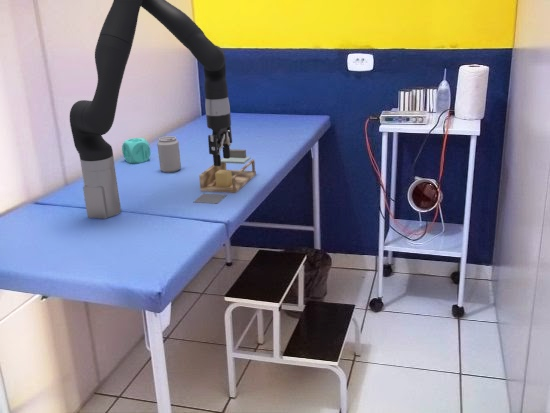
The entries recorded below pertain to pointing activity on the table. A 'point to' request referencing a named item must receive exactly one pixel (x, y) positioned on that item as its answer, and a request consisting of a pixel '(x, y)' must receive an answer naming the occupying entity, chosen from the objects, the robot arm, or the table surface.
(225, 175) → the block
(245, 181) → the wooden rack
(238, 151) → the lid
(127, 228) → the table surface
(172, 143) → the can
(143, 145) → the decorative dice
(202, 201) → the mat
